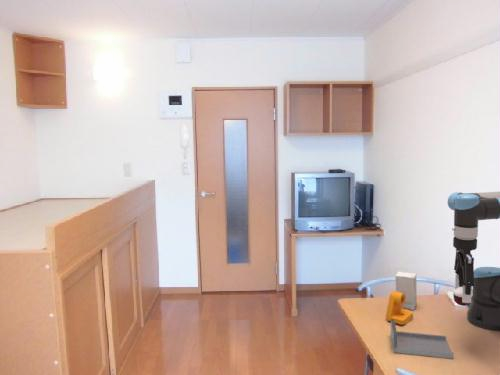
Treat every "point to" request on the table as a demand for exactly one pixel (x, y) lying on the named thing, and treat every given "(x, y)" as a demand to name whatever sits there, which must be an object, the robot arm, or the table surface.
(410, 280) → the skincare box
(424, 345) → the grey dustpan
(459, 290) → the cocoa
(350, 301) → the table surface
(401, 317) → the bracket
